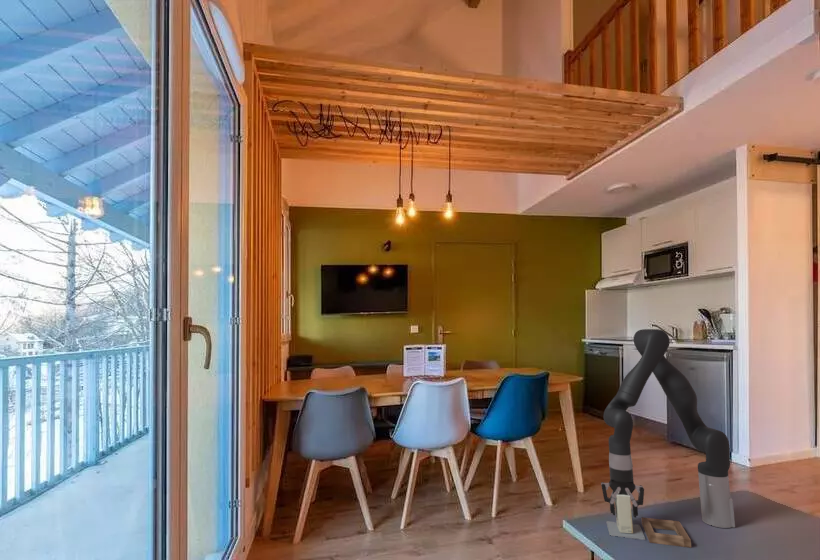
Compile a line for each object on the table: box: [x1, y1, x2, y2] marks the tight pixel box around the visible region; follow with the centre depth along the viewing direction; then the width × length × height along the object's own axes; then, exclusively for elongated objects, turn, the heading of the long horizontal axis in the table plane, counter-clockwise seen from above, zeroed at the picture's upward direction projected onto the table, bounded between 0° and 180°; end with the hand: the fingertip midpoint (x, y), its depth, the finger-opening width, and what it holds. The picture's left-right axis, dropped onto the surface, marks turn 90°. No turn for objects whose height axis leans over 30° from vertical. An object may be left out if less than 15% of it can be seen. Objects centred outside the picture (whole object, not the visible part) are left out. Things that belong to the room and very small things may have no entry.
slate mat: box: [605, 520, 646, 541], centre depth 154 cm, size 11×11×1 cm
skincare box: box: [614, 494, 633, 533], centre depth 155 cm, size 6×4×12 cm
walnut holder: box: [640, 517, 692, 549], centre depth 151 cm, size 12×14×2 cm
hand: (624, 515), depth 155 cm, fingers open, 6 cm apart
